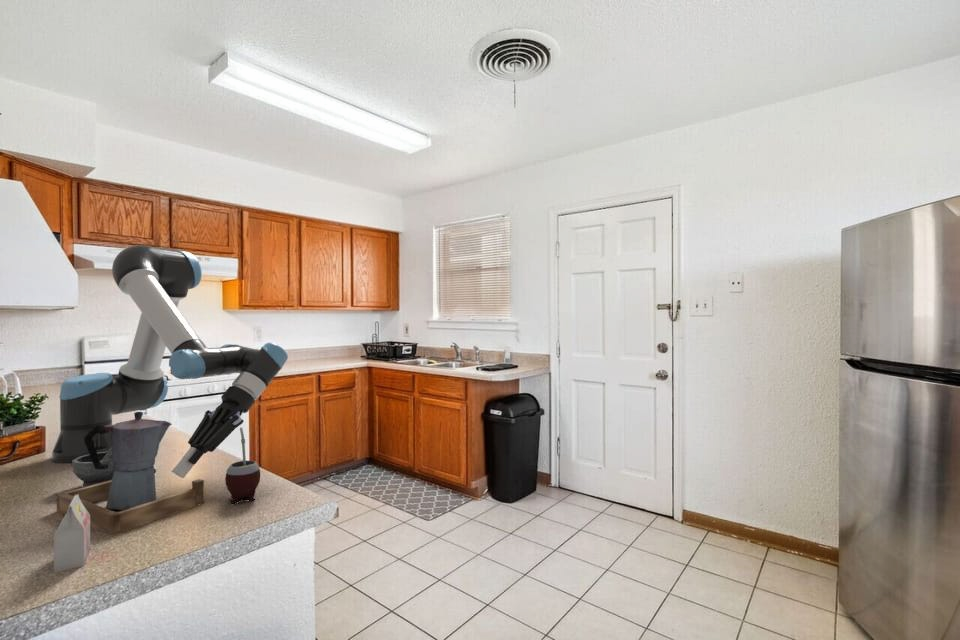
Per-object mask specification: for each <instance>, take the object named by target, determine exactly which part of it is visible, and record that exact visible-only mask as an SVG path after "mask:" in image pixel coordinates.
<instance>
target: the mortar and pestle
mask: <svg viewBox="0 0 960 640" xmlns="http://www.w3.org/2000/svg"><path fill="white" fill-rule="evenodd" d="M97 455H98V459H99V461H100V463H101V464H109V467H108V469H95V467H94V465H93V462H92V458H91V457H90V454H89V455H84V456H80V457H78V458H76V459H74V460H72V462H71V463H72V464H71V465H72V466H71V467H72V470H73V471H72V472H73V474H74V475H75V476H76V478H77V479H79V480H81V482H82V487H81V488H84V487H87V486H91V485H95V484H99V483H103V482H106V481H110V480H112V478H113V474H114V471H115V469H114V467H113V464H114V463H115V461H113V457H112V447H111V448H110V450H109V451H108V452H100V453H97Z"/></svg>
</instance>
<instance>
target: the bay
mask: <svg viewBox="0 0 960 640" xmlns="http://www.w3.org/2000/svg"><path fill="white" fill-rule="evenodd" d="M111 483H112V480H110V481H106V482H103V483H99V484H95V485H91V486H87V487H84V488H82V487H80V488H77V489H74V490H73V489H72V490H70V491H65V492H61V493H58V494H56V512H57V511H58V513H60V514H63V515H64V516H65V515H66V513H67V510H68V507H69V505H70V504H71V502H72V500H73V498H74V496H75V495H79V498H80V500H81V502H82V504H83V505H84V507H85V508H86V510H87V511H88V513H89V514H90V527H94V528H95V529H97V530H101V531H103V532H105V533H107V534H110V535H112V536H113V535H116V534H119V533H121V532H124V531H128V530H130V529H134V528H135V527H138V526H141V525H145V524H147V523H151V522H152V521H156V520H158V519H162V518H164V517H168V516H170V515H172V514H175V513H178V512H180V511H181V512H182V511H184V510H187V509H190V508H192V507H195V505H197V506H199V504H200V505H202V504H204V503H205V501H204V500H205V499H204V498H205V497H204V496H205V494H204V493H205V490H204V488H205V487H204V486H205V480H203V479H195V480H192V482H191V488H189V489H186V490H183V491H180V492H177V493H174V494H169V495H168V496H165V497H161V498H158V499H156V500H155V501H151V502H148V503H145V504H142V505H139V506H136V507H133V508H129V509H126V510H119V511H117V512H116V511H115V510H112V509H109V508H106V507H103V506H101V505H97V504H95V503H96V502H100V501H103V499H104V500H106V499H107V500H108V496H109V492H110V488H111Z"/></svg>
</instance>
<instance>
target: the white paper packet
mask: <svg viewBox="0 0 960 640" xmlns="http://www.w3.org/2000/svg"><path fill="white" fill-rule="evenodd" d="M90 550H91V525H90V514H89V513H88V511H87V510H86V508H85V507H84V505H83V504H82V502H81V500H80V498H79V495H75V496H74V498H73V500H72V502H71V504H70V505H69V507H68V510H67V513H66V515H65V514H64V517H63V518H62V520H61V522H60V524H59V525H58V528H57V529H56V531H55V533H54V535H53V572H54V573H57V572H60V571H64V570H65V571H66V570H71V569H74V568H79V567H84V566H85V563H86V560H87V557H88V555H89V553H90Z"/></svg>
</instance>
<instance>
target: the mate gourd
mask: <svg viewBox="0 0 960 640" xmlns="http://www.w3.org/2000/svg"><path fill="white" fill-rule="evenodd" d="M243 429H244V428H243V427H240V428H239V431H240V437H241V439H240V441H241V442H240V443H241V449H242V452H241V453H242V460H240V461H236V462H232V463H231V464H230V465H229V466H228V467H227V469H226V472H225V478H224V481H225V486H226V489H227V491H228V492H229V494H230V499H231V498H232V499H231V502H230V505H231V504H234V505H236V504H238V503H240V502H239V501H241V500H243V501H244V500H249V501H248V502H251V501H253V502H255V501H256V498H255V493H256V490H257V488H258V487H259V484H260V480H261V469H260V466H259V464H258V463H257V462H256V461H255V460H247V459H246V439H245V435H244V430H243ZM254 500H255V501H254ZM237 502H238V503H237ZM241 502H242V501H241ZM235 503H236V504H235Z"/></svg>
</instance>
